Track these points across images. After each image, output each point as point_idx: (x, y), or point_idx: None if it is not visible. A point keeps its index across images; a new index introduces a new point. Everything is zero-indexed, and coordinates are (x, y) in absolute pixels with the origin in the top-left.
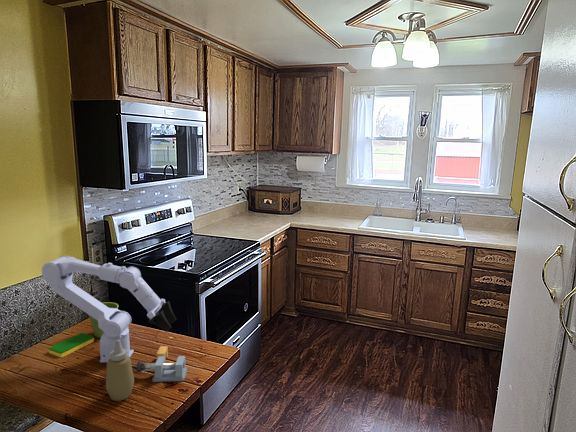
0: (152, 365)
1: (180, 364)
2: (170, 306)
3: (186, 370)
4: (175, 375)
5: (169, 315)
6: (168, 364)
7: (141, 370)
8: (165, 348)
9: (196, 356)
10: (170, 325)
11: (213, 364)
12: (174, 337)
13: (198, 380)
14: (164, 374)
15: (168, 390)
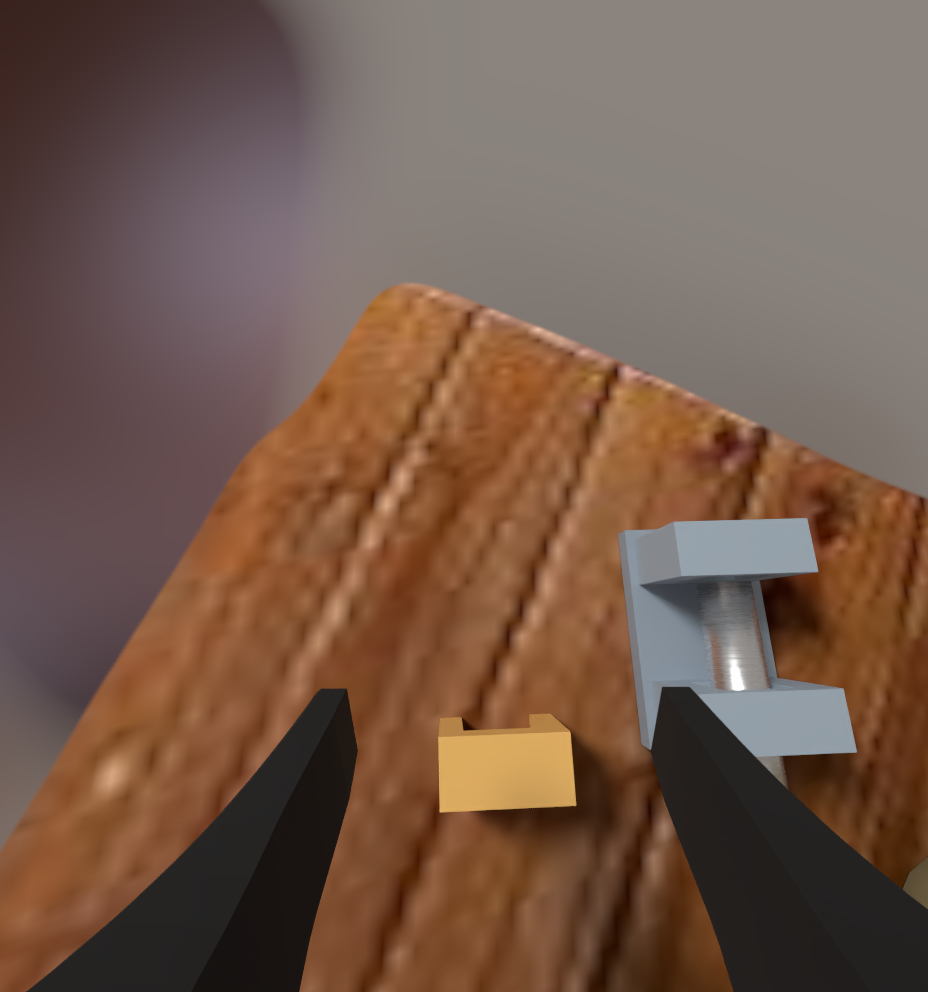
0: (784, 781)
1: (804, 531)
2: (92, 945)
3: (647, 531)
4: None
5: (304, 846)
6: (757, 642)
7: None
8: (480, 746)
9: (445, 503)
10: (681, 711)
11: (543, 384)
12: (122, 744)
13: (721, 446)
14: None
15: (845, 603)
